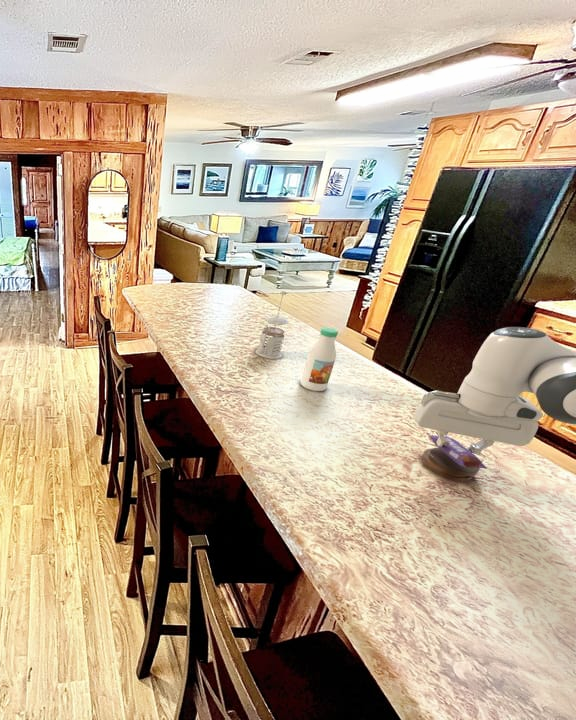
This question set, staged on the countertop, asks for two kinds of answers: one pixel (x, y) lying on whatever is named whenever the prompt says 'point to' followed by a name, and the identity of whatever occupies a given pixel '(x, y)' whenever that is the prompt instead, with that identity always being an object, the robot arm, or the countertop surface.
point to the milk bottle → (320, 361)
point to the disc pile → (447, 466)
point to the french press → (273, 342)
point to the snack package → (459, 453)
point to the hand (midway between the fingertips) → (457, 448)
